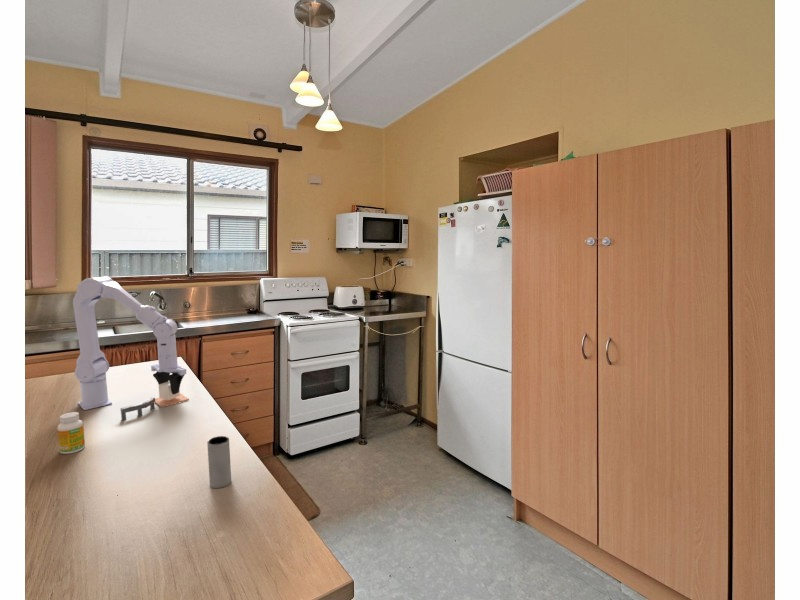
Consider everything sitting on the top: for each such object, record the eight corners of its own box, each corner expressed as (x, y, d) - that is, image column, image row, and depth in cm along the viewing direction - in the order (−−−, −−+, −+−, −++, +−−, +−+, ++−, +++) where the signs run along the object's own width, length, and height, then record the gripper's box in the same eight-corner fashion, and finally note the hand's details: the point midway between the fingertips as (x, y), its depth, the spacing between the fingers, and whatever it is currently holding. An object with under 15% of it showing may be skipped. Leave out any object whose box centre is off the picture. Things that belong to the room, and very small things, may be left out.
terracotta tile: (152, 401, 149) (152, 399, 149) (179, 394, 155) (179, 392, 155) (161, 407, 143) (161, 405, 143) (189, 400, 149) (189, 398, 149)
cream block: (159, 398, 147) (158, 384, 147) (170, 394, 152) (169, 380, 151) (168, 400, 146) (167, 386, 145) (180, 395, 150) (179, 382, 149)
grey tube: (223, 475, 100) (221, 434, 99) (235, 481, 97) (233, 439, 96) (205, 484, 96) (203, 441, 95) (217, 490, 94) (214, 446, 92)
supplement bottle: (71, 455, 110) (67, 419, 109) (54, 453, 111) (50, 417, 110) (90, 445, 115) (87, 411, 114) (73, 444, 116) (70, 410, 115)
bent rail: (118, 416, 135) (117, 405, 135) (154, 407, 143) (154, 397, 142) (122, 420, 132) (121, 409, 131) (159, 411, 140) (158, 400, 139)
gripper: (142, 355, 146) (145, 393, 148) (172, 359, 141) (175, 398, 142) (160, 350, 153) (162, 387, 154) (190, 354, 147) (192, 392, 149)
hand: (170, 392), depth 149 cm, fingers closed on cream block, 4 cm apart
